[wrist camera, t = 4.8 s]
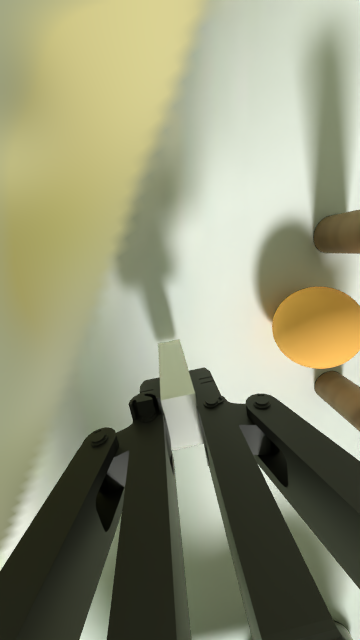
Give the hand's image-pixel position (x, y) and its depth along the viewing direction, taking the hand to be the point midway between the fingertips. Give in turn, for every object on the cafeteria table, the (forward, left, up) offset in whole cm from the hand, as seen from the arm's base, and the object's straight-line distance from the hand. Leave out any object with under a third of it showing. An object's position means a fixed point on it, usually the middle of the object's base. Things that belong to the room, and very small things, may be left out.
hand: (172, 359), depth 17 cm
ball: (+1, -10, +1) cm, 10 cm away
